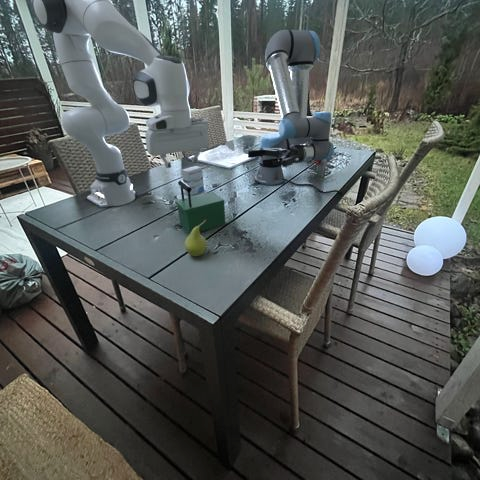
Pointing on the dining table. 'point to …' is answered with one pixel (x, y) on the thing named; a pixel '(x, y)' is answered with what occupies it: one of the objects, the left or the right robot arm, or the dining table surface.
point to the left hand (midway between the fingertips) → (182, 164)
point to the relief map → (223, 157)
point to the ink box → (193, 179)
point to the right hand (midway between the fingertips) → (255, 158)
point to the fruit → (196, 242)
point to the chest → (202, 218)
